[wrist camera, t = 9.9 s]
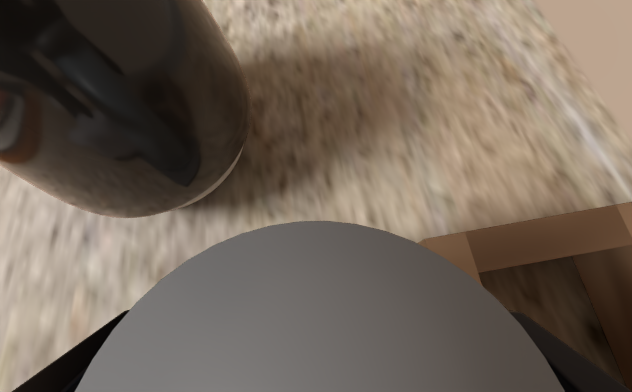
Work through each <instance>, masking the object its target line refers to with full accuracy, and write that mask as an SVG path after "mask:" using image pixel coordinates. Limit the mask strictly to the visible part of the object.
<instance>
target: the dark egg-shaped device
mask: <svg viewBox="0 0 632 392" xmlns="http://www.w3.org/2000/svg"><path fill="white" fill-rule="evenodd" d="M251 112H252V106H251V95H250V90H249V86H248V83H247V80H246V77H245V75H244V72H243V70H242V67H241V65H240V63H239V61H238V59H237V57H236V55H235V53H234V51H233V49H232V47H231V46H230V44H229V42H228V40H227V39H226V37H225V35H224V34H223V32H222V30H221V29H220V27H219V25H218V24H217V22H216V20H215V19H214V17H213V16H212V14H211V13H210V11H209V9H208V8H207V6H206V5H205V3H204V2H203V0H0V166H2V167H3V168H5V169H7V170H8V171H10V172H12V173H13V174H15V175H17V176H18V177H20V178H22V179H23V180H25V181H27V182H28V183H30V184H32V185H33V186H35V187H37V188H39V189H40V190H42V191H44V192H46V193H48V194H49V195H51V196H53V197H55V198H57V199H59V200H61V201H63V202H65V203H68V204H70V205H72V206H75V207H77V208H80V209H83V210H85V211H88V212H91V213H95V214H98V215H103V216H108V217H116V218H137V217H145V216H151V215H155V214H159V213H163V212H167V211H172V210H176V209H179V208H182V207H185V206H187V205H190V204H192V203H194V202H196V201H198V200H200V199H202V198H203V197H205V196H206V195H208V194H209V193H210V192H212V191H213V190H214V189H216V188H217V187H218V186H219V185H220V184H221V183H222V182H223V181H224V180H225V179H226V178H227V176H228V175H229V174H230V172H231V171H232V170H233V168H234V166H235V165H236V163H237V161H238V159H239V157H240V155H241V152H242V150H243V146H244V143H245V140H246V137H247V134H248V131H249V127H250V121H251Z"/></svg>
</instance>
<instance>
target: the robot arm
mask: <svg viewBox="0 0 632 392" xmlns="http://www.w3.org/2000/svg"><path fill="white" fill-rule="evenodd" d="M129 311H130V310H127V311H124V312H123V313H121V314H120V315H118V316H117V317H116V318H114V319H113V320H111V321H110V322H109V323H107V324H106V325H104V326H103V327H102V328H100V329H99V330H97V331H96V332H95V333H93V334H92V335H90V336H89V337H88V338H86V339H85V340H83V341H82V342H81V343H79V344H78V345H76V346H75V347H74V348H72V349H71V350H69V351H68V352H67V353H65V354H64V355H62V356H61V357H60V358H58V359H57V360H55V361H54V362H53V363H51V364H50V365H48V366H47V367H46V368H44V369H43V370H41V371H40V372H39V373H37V374H36V375H34V376H33V377H32V378H30V379H29V380H27V381H26V382H25V383H23V384H22V385H20V386H19V387H18V388H16V389H15V390H13V391H12V392H75V390H76V389H77V387H78V385H79V383H80V381H81V379H82V378H83V376H84V374H85V372H86V370H87V369H88V367H89V365H90V363H91V361H92V360H93V358H94V357H95V355H96V354H97V352H98V351H99V349H100V348H101V347H102V345H103V344H104V342H105V341H106V339H107V338H108V336H109V335H110V334H111V332H112V331H113V329H114V328H115V327H116V326H117V325H118V323H119V322H120V321H121V320H122V319H123V318H124V316H125V315H126V314H127V313H128V312H129ZM508 312H509V313H510V314H511V315H512V316H513V317H514V318H515V319H516V320H517V321H518V322H519V323H520V325H521V326H522V327H523V328H524V330H525V331H526V332H527V334H528V335H529V337H530V338H531V339H532V341H533V342H534V343H535V345H536V346H537V347H538V349H539V350H540V351H541V353H542V354H543V355H544V357H545V359H546V360H547V362H548V364H549V365H550V367H551V369H552V370H553V372H554V374H555V376H556V377H557V379H558V381H559V382H560V384H561V386H562V387H563V389H564V391H565V392H632V391H631V390H629V389H628V388H627V387H625V386H624V385H622V384H621V383H620V382H618V381H617V380H615V379H614V378H613V377H611V376H610V375H608V374H607V373H606V372H604V371H603V370H601V369H600V368H599V367H597V366H596V365H594V364H593V363H592V362H590V361H589V360H587V359H586V358H585V357H583V356H582V355H580V354H579V353H578V352H576V351H575V350H573V349H572V348H571V347H569V346H568V345H566V344H565V343H564V342H562V341H561V340H559V339H558V338H557V337H555V336H554V335H552V334H551V333H550V332H548V331H547V330H545V329H544V328H543V327H541V326H540V325H538V324H537V323H536V322H534V321H533V320H531V319H530V318H529V317H527V316H526V315H524V314H523V313H521V312H519V311H508Z"/></svg>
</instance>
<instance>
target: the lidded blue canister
mask: <svg viewBox="0 0 632 392" xmlns="http://www.w3.org/2000/svg"><path fill="white" fill-rule="evenodd" d="M75 392H565V391H564V389H563V387H562V386H561V384H560V382H559V381H558V379H557V377H556V376H555V374H554V372H553V370H552V369H551V367H550V365H549V364H548V362H547V360H546V359H545V357H544V355H543V354H542V353H541V351H540V350H539V349H538V347H537V346H536V345H535V343H534V342H533V341H532V339H531V338H530V337H529V335H528V334H527V332H526V331H525V330H524V328H523V327H522V326H521V325H520V323H519V322H518V321H517V320H516V319H515V318H514V317H513V316H512V315H511V314H510V313H509V312H508V310H507V309H506V308H505V307H504V306H503V305H502V304H501V303H500V302H499V301H498V300H497V299H496V298H495V297H494V296H493V295H492V294H491V293H490V292H488V291H487V290H486V289H485V288H484V287H483V286H482V285H480V284H479V283H478V282H477V281H476V280H475V279H473V278H472V277H471V276H470V275H469V274H467V273H466V272H464V271H463V270H461V269H460V268H458V267H457V266H455V265H454V264H452V263H451V262H450V261H448V260H447V259H445V258H444V257H442V256H440V255H438V254H436V253H434V252H433V251H431V250H429V249H427V248H425V247H423V246H421V245H419V244H417V243H415V242H413V241H410V240H408V239H405V238H402V237H400V236H397V235H394V234H392V233H389V232H387V231H383V230H379V229H374V228H370V227H366V226H362V225H358V224H350V223H341V222H332V221H304V222H293V223H286V224H279V225H272V226H268V227H264V228H260V229H257V230H253V231H250V232H246V233H242V234H240V235H237V236H235V237H233V238H230V239H228V240H225V241H223V242H221V243H218V244H216V245H214V246H212V247H210V248H208V249H207V250H205V251H203V252H201V253H200V254H198V255H196V256H194V257H193V258H191V259H189V260H187V261H186V262H184V263H183V264H182V265H180V266H179V267H178V268H176V269H175V270H174V271H172V272H171V273H170V274H168V275H167V276H165V277H164V278H163V279H161V280H160V281H159V282H158V283H157V284H156V285H155V286H154V287H153V288H152V289H151V290H150V291H148V292H147V293H146V294H145V295H144V296H143V297H142V298H141V299H140V300H139V301H138V302H137V303H136V304H135V305H134V306H133V307H132V308H131V310H130V311H129V312H128V313H127V314H126V315H125V316H124V318H123V319H122V320H121V321H120V322H119V323H118V325H117V326H116V327H115V328H114V329H113V331H112V332H111V334H110V335H109V336H108V338H107V339H106V341H105V342H104V344H103V345H102V347H101V348H100V349H99V351H98V352H97V354H96V355H95V357H94V358H93V360H92V361H91V363H90V365H89V367H88V369H87V370H86V372H85V374H84V376H83V378H82V379H81V381H80V383H79V385H78V387H77V389H76V390H75Z"/></svg>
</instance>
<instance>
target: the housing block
mask: <svg viewBox="0 0 632 392" xmlns="http://www.w3.org/2000/svg"><path fill="white" fill-rule="evenodd" d="M417 244H419V245H421V246H423V247H425V248H427V249H429V250H431V251H433V252H434V253H436V254H438V255H440V256H442V257H444V258H445V259H447V260H448V261H450V262H451V263H452V264H454V265H455V266H457V267H458V268H460V269H461V270H463V271H464V272H466V273H467V274H469V275H470V276H471V277H472V278H473V279H475V280H476V281H477V282H478V283H479V284H480V285H482V283H481V280H480V277H479V274H478V273H480V272H486V271H491V270H497V269H502V268H508V267H513V266H519V265H524V264H530V263H535V262H541V261H546V260H551V259H557V258H562V257H568V256H572V258H573V260H574V262H575V265H576V267H577V269H578V272H579V274H580V277H581V279H582V281H583V284H584V286H585V288H586V291H587V293H588V296H589V298H590V300H591V303H592V305H593V307H594V310H595V312H596V315H597V317H598V319H599V322H600V324H601V326H602V329H603V331H604V334H605V336H606V338H607V341H608V343H609V345H610V348H611V350H612V353H613V355H614V357H615V360H616V362H617V364H618V367H619V369H620V372H621V374H622V376H623V379H624V381H625V383H626V386H627V388H628V389H629V390H631V391H632V202H629V203H623V204H617V205H612V206H606V207H601V208H595V209H590V210H584V211H578V212H573V213H567V214H562V215H556V216H551V217H545V218H539V219H534V220H528V221H523V222H517V223H511V224H506V225H500V226H495V227H489V228H484V229H478V230H472V231H467V232H461V233H456V234H450V235H445V236H439V237H433V238H428V239H424V240H423V241H421V242H419V243H417Z"/></svg>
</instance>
